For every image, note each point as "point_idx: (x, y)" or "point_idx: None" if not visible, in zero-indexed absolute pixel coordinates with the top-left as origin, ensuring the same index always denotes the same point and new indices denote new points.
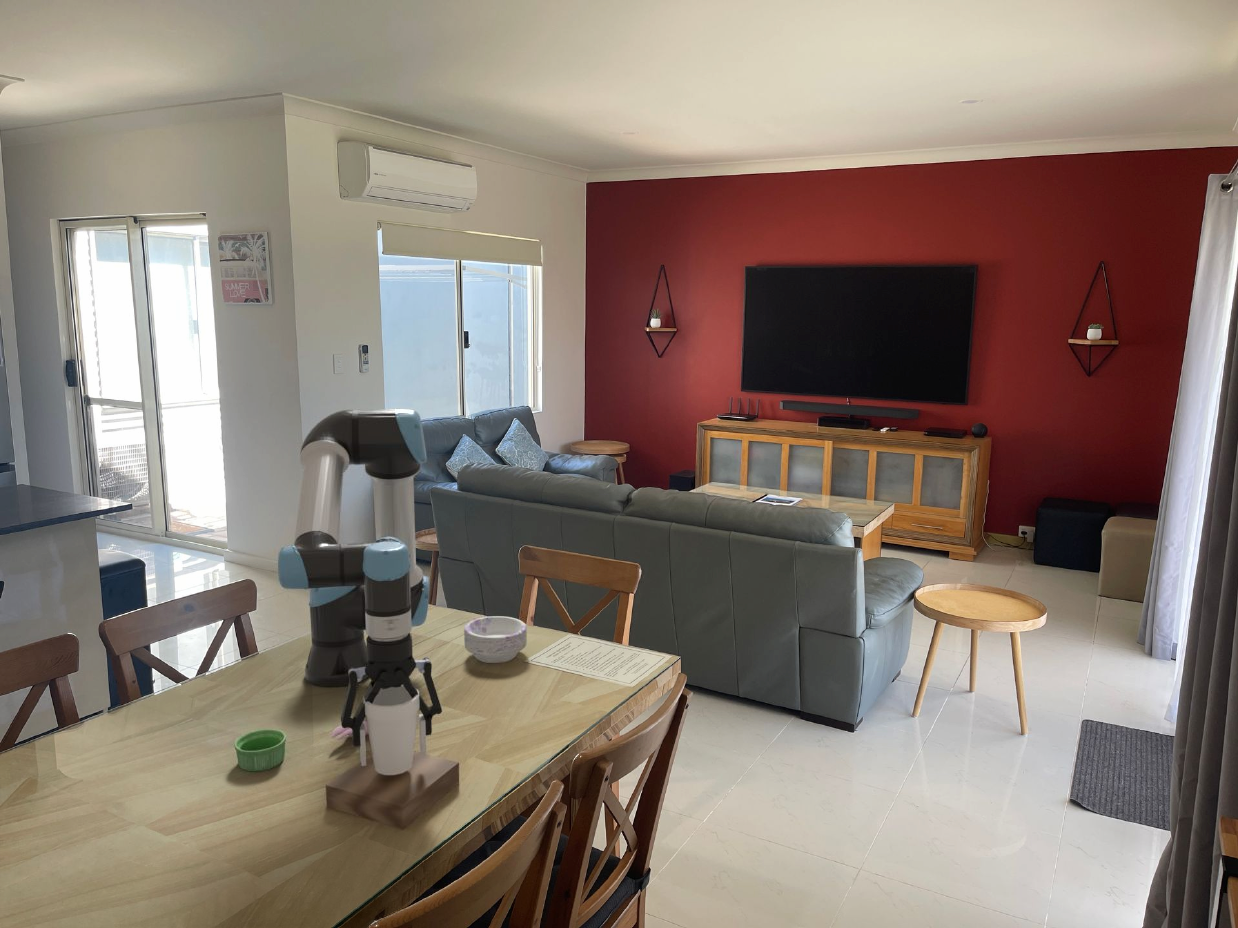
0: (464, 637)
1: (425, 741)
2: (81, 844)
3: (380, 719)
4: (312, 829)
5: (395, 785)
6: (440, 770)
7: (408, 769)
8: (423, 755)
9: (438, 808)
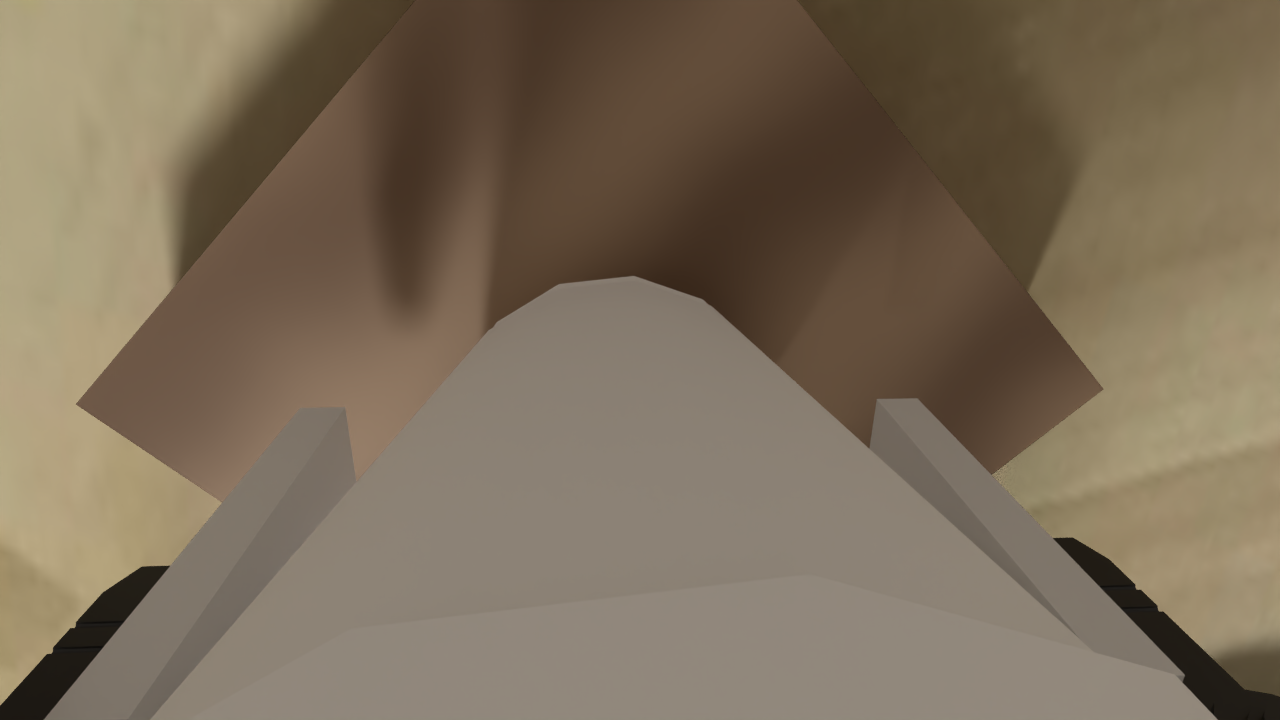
0: None
1: (238, 488)
2: None
3: (1161, 687)
4: (1158, 94)
5: (625, 206)
6: (235, 325)
7: (497, 322)
8: (328, 409)
9: (327, 49)
